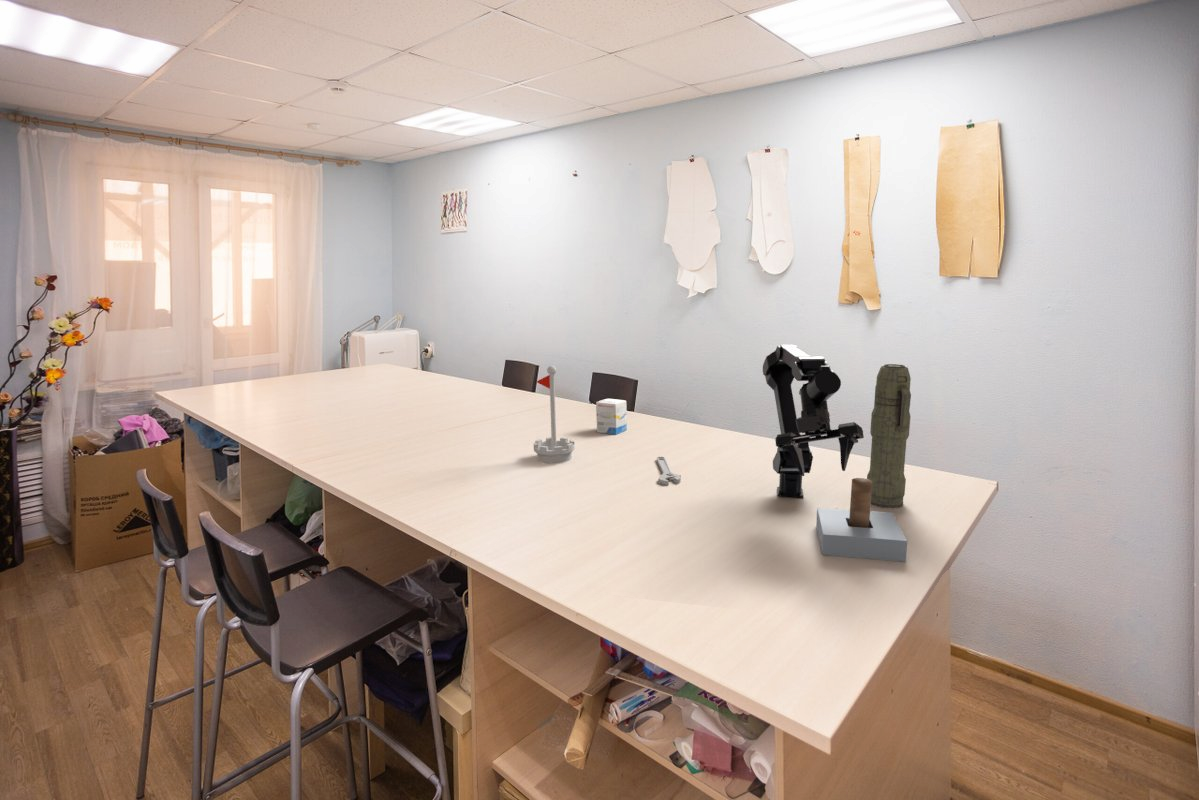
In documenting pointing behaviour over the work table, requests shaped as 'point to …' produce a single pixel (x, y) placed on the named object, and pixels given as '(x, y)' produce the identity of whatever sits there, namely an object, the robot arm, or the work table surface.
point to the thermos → (889, 436)
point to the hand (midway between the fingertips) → (822, 473)
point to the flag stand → (553, 430)
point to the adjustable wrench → (667, 473)
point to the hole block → (860, 536)
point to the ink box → (611, 416)
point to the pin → (860, 502)
